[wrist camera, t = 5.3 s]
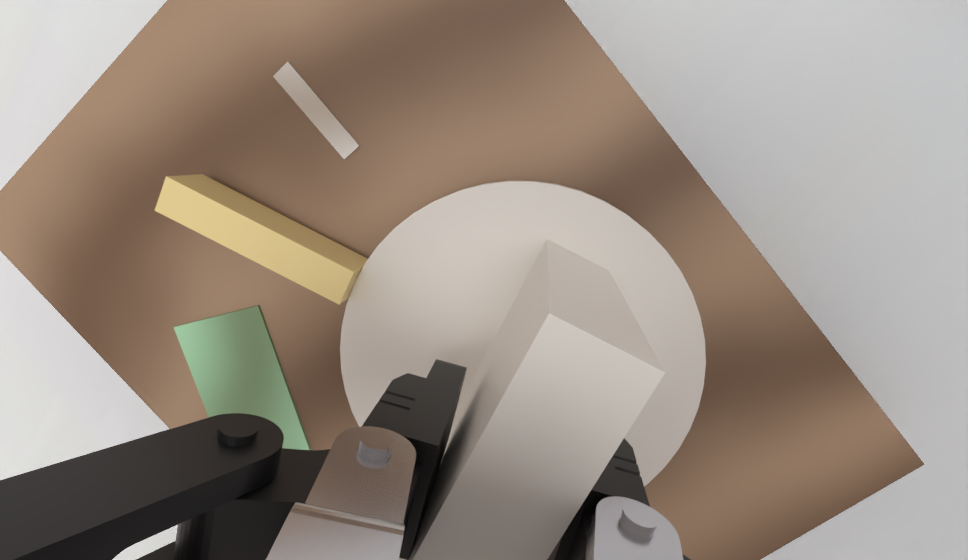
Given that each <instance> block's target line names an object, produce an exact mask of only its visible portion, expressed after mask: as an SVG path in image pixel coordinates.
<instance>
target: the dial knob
mask: <svg viewBox="0 0 968 560" xmlns="http://www.w3.org/2000/svg"><path fill="white" fill-rule="evenodd" d="M155 211H156V212H158V213H160V214H162V215H164V216H166V217H168V218H170V219H172V220H174V221H176V222H178V223H180V224H182V225H184V226H186V227H188V228H190V229H192V230H194V231H196V232H198V233H200V234H201V235H203V236H205V237H207V238H209V239H211V240H213V241H215V242H217V243H219V244H221V245H223V246H225V247H227V248H229V249H231V250H233V251H235V252H237V253H239V254H241V255H243V256H245V257H247V258H249V259H250V260H252V261H254V262H256V263H258V264H260V265H262V266H264V267H266V268H268V269H270V270H272V271H274V272H276V273H278V274H280V275H282V276H284V277H286V278H288V279H290V280H292V281H294V282H296V283H298V284H300V285H301V286H303V287H305V288H307V289H309V290H311V291H313V292H315V293H317V294H319V295H321V296H323V297H325V298H327V299H329V300H331V301H333V302H335V303H337V304H339V305H340V304H341V303H343V302H344V301H345V300H347V299H348V298H349V299H348V302H347V304H346V309H345V313H344V318H343V322H342V328H341V341H340V358H341V372H342V377H343V382H344V387H345V392H346V395H347V398H348V401H349V404H350V407H351V410H352V413H353V415H354V417H355V419H356V421H357V423H358V426H359V427H361V426H362V425H363V424H364V422H365V421H366V419H367V418H368V416H369V415H370V413H371V412H372V410H373V409H374V407H375V406H376V404H377V403H378V402H379V400H380V398H381V397H382V395H383V394H384V393H385V391H386V389H387V387H388V386H389V384H390V383H391V381H392V380H393V379H395V378H398V377H400V376H402V375H404V374H407V373H410V374H413V375H417V376H420V377H424V378H427V376H428V374H429V372H430V370H431V368H432V366H433V364H434V362H435V360H436V359H438V360H442V361H445V362H449V363H453V364H456V365H460V366H463V367H467V370H466V374H465V378H464V382H463V386H462V390H461V393H460V397H459V401H458V405H457V409H456V412H455V416H454V420H453V424H452V428H451V432H450V435H449V439H448V442H447V446H446V449H445V453H444V456H443V459H442V462H441V465H440V468H439V471H438V474H437V477H436V480H435V483H434V486H433V489H432V492H431V495H430V498H429V501H428V504H427V507H426V510H425V513H424V516H423V519H422V522H421V525H420V528H419V531H418V534H417V537H416V540H415V543H414V546H413V549H412V552H411V555H410V558H409V560H547V559H548V558H549V556H550V554H551V553H552V551H553V550H554V548H555V547H556V545H557V543H558V542H559V540H560V539H561V537H562V535H563V534H564V532H565V531H566V529H567V528H568V526H569V524H570V523H571V521H572V520H573V518H574V516H575V515H576V513H577V512H578V510H579V509H580V507H581V505H582V504H583V502H584V501H585V499H586V497H587V496H588V494H589V493H590V491H591V490H592V488H593V486H594V485H595V483H596V482H597V480H598V478H599V477H600V475H601V474H602V472H603V471H604V469H605V467H606V466H607V464H608V463H609V461H610V459H611V458H612V456H613V455H614V453H615V452H616V450H617V448H618V447H619V445H620V444H621V442H622V441H623V439H624V438H625V439H626V441H627V442H628V443H629V444H630V445H631V446H632V447H633V451H634V454H635V458H636V461H637V462H636V464H638V468H639V471H640V476H641V478H642V481H643V484H644V486H646V485H647V484H648V483H649V482H650V481H651V480H652V479H653V478H654V477H655V476H656V475H657V474H659V473H660V472H661V471H662V470H663V469H664V468H665V466H666V465H667V464H668V462H669V461H670V460H671V459H672V457H673V456H674V455H675V453H676V452H677V451H678V449H679V448H680V446H681V444H682V443H683V441H684V439H685V437H686V436H687V434H688V432H689V430H690V428H691V426H692V423H693V421H694V418H695V416H696V413H697V411H698V408H699V404H700V400H701V395H702V391H703V387H704V379H705V368H706V352H705V337H704V332H703V327H702V322H701V317H700V314H699V311H698V308H697V305H696V302H695V299H694V296H693V294H692V291H691V289H690V288H689V286H688V284H687V282H686V280H685V278H684V276H683V274H682V272H681V270H680V269H679V268H678V266H677V265H676V263H675V262H674V261H673V259H672V258H671V256H670V255H669V254H668V252H667V251H666V250H665V249H664V248H663V246H662V245H661V244H660V243H659V242H658V241H657V240H656V239H655V238H654V237H653V236H652V235H651V234H650V233H649V232H648V231H647V230H646V229H644V228H643V227H642V226H641V225H639V224H638V223H637V222H636V221H634V220H633V219H632V218H631V217H629V216H628V215H627V214H625V213H624V212H622V211H621V210H619V209H617V208H616V207H614V206H612V205H611V204H609V203H607V202H606V201H604V200H602V199H600V198H597V197H595V196H593V195H590V194H588V193H586V192H583V191H581V190H578V189H574V188H571V187H567V186H564V185H560V184H555V183H548V182H541V181H534V180H507V181H499V182H491V183H484V184H481V185H477V186H473V187H469V188H466V189H462V190H460V191H457V192H455V193H452V194H450V195H448V196H445V197H443V198H440V199H438V200H436V201H434V202H432V203H430V204H428V205H427V206H425V207H423V208H422V209H420V210H418V211H416V212H415V213H413V214H412V215H411V216H409V217H408V218H407V219H405V220H404V221H403V222H402V223H400V224H399V225H398V226H397V227H395V228H394V229H393V230H392V231H391V232H390V233H389V234H388V235H387V236H386V237H385V239H384V240H383V241H382V242H381V243H380V244H379V245H378V246H377V247H376V249H375V250H374V252H373V253H372V254H371V256H370V257H369V258H368V259H367V258H366V257H364V256H362V255H360V254H358V253H356V252H354V251H352V250H350V249H348V248H346V247H344V246H342V245H340V244H338V243H336V242H334V241H332V240H330V239H328V238H326V237H324V236H322V235H320V234H319V233H317V232H315V231H313V230H311V229H309V228H307V227H305V226H303V225H301V224H299V223H297V222H295V221H293V220H291V219H289V218H287V217H285V216H283V215H281V214H279V213H277V212H275V211H273V210H272V209H270V208H268V207H266V206H264V205H262V204H260V203H258V202H256V201H254V200H252V199H250V198H248V197H246V196H244V195H242V194H240V193H238V192H236V191H234V190H232V189H230V188H228V187H226V186H225V185H223V184H221V183H219V182H217V181H215V180H213V179H211V178H209V177H207V176H205V175H203V174H198V175H180V176H166V178H165V181H164V184H163V187H162V190H161V193H160V196H159V199H158V202H157V205H156V208H155ZM399 560H406V559H402V558H399Z"/></svg>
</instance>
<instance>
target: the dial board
mask: <svg viewBox="0 0 968 560" xmlns="http://www.w3.org/2000/svg"><path fill="white" fill-rule="evenodd" d="M198 174H203V175H205V176H207V177H209V178H211V179H213V180H215V181H217V182H219V183H221V184H223V185H225V186H226V187H228V188H230V189H232V190H234V191H236V192H238V193H240V194H242V195H244V196H246V197H248V198H250V199H252V200H254V201H256V202H258V203H260V204H262V205H264V206H266V207H268V208H270V209H272V210H273V211H275V212H277V213H279V214H281V215H283V216H285V217H287V218H289V219H291V220H293V221H295V222H297V223H299V224H301V225H303V226H305V227H307V228H309V229H311V230H313V231H315V232H317V233H319V234H320V235H322V236H324V237H326V238H328V239H330V240H332V241H334V242H336V243H338V244H340V245H342V246H344V247H346V248H348V249H350V250H352V251H354V252H356V253H358V254H360V255H362V256H364V257H366V258H367V259H368V258H369V257H370V256H371V254H372V253H373V252H374V250H375V249H376V247H377V246H378V245H379V244H380V243H381V242H382V241H383V240H384V239H385V237H386V236H387V235H388V234H389V233H390V232H391V231H392V230H393V229H394V228H395V227H397V226H398V225H399V224H400V223H402V222H403V221H404V220H405V219H407V218H408V217H409V216H411V215H412V214H413V213H415V212H416V211H418V210H420V209H422V208H423V207H425V206H427V205H428V204H430V203H432V202H434V201H436V200H438V199H440V198H443V197H445V196H448V195H450V194H452V193H455V192H457V191H460V190H462V189H466V188H469V187H473V186H477V185H481V184H484V183H491V182H499V181H507V180H534V181H541V182H548V183H555V184H560V185H564V186H567V187H571V188H574V189H578V190H581V191H583V192H586V193H588V194H590V195H593V196H595V197H597V198H600V199H602V200H604V201H606V202H607V203H609V204H611V205H612V206H614V207H616V208H617V209H619V210H621V211H622V212H624V213H625V214H627V215H628V216H629V217H631V218H632V219H633V220H634V221H636V222H637V223H638V224H639V225H641V226H642V227H643V228H644V229H646V230H647V231H648V232H649V233H650V234H651V235H652V236H653V237H654V238H655V239H656V240H657V241H658V242H659V243H660V244H661V245H662V246H663V248H664V249H665V250H666V251H667V252H668V254H669V255H670V256H671V258H672V259H673V261H674V262H675V263H676V265H677V266H678V268H679V269H680V270H681V272H682V274H683V276H684V278H685V280H686V282H687V284H688V286H689V288H690V289H691V291H692V294H693V296H694V299H695V302H696V305H697V308H698V311H699V314H700V317H701V322H702V327H703V332H704V337H705V352H706V368H705V379H704V387H703V391H702V395H701V400H700V404H699V408H698V411H697V413H696V416H695V418H694V421H693V423H692V426H691V428H690V430H689V432H688V434H687V436H686V437H685V439H684V441H683V443H682V444H681V446H680V448H679V449H678V451H677V452H676V453H675V455H674V456H673V457H672V459H671V460H670V461H669V462H668V464H667V465H666V466H665V468H664V469H663V470H662V471H661V472H660V473H659V474H657V475H656V476H655V477H654V478H653V479H652V480H651V481H650V482H649V483H648V484H647V485H646V486H644V488H645V491H646V495H647V498H648V501H649V505H650V507H651V508H653V509H654V510H656V511H657V512H659V513H660V514H661V515H663V516H664V517H665V518H666V519H667V520H668V521H669V522H670V523H671V524H672V525H673V527H674V528H675V530H676V531H677V533H678V536H679V539H680V544H681V549H682V554H683V555H685V556H686V557H688V558H689V559H691V560H760V559H762V558H764V557H765V556H767V555H769V554H770V553H772V552H774V551H776V550H777V549H779V548H781V547H783V546H784V545H786V544H788V543H789V542H791V541H793V540H795V539H796V538H798V537H800V536H802V535H803V534H805V533H807V532H808V531H810V530H812V529H814V528H815V527H817V526H819V525H820V524H822V523H824V522H826V521H827V520H829V519H831V518H833V517H834V516H836V515H838V514H839V513H841V512H843V511H845V510H846V509H848V508H850V507H852V506H853V505H855V504H857V503H858V502H860V501H862V500H864V499H865V498H867V497H869V496H871V495H872V494H874V493H876V492H877V491H879V490H881V489H883V488H884V487H886V486H888V485H889V484H891V483H893V482H895V481H896V480H898V479H900V478H902V477H903V476H905V475H907V474H908V473H910V472H912V471H914V470H915V469H917V468H919V467H921V466H922V465H924V463H923V462H922V461H921V459H920V458H919V457H918V456H917V454H916V453H915V452H914V450H913V449H912V448H911V446H910V445H909V444H908V443H907V441H906V440H905V439H904V437H903V436H902V435H901V434H900V432H899V431H898V430H897V428H896V427H895V426H894V425H893V423H892V422H891V421H890V419H889V418H888V417H887V416H886V414H885V413H884V412H883V410H882V409H881V408H880V407H879V405H878V404H877V403H876V401H875V400H874V399H873V398H872V396H871V395H870V394H869V392H868V391H867V390H866V389H865V387H864V386H863V385H862V383H861V382H860V381H859V380H858V378H857V377H856V376H855V374H854V373H853V372H852V370H851V369H850V368H849V367H848V365H847V364H846V363H845V361H844V360H843V359H842V358H841V356H840V355H839V354H838V352H837V351H836V350H835V349H834V347H833V346H832V345H831V343H830V342H829V341H828V340H827V338H826V337H825V336H824V334H823V333H822V332H821V331H820V329H819V328H818V327H817V325H816V324H815V323H814V322H813V320H812V319H811V318H810V316H809V315H808V314H807V313H806V311H805V310H804V309H803V307H802V306H801V305H800V304H799V302H798V301H797V300H796V298H795V297H794V296H793V294H792V293H791V292H790V291H789V289H788V288H787V287H786V285H785V284H784V283H783V282H782V280H781V279H780V278H779V276H778V275H777V274H776V273H775V271H774V270H773V269H772V267H771V266H770V265H769V264H768V262H767V261H766V260H765V258H764V257H763V256H762V255H761V253H760V252H759V251H758V249H757V248H756V247H755V246H754V244H753V243H752V242H751V240H750V239H749V238H748V237H747V235H746V234H745V233H744V231H743V230H742V229H741V228H740V226H739V225H738V224H737V222H736V221H735V220H734V218H733V217H732V216H731V215H730V213H729V212H728V211H727V209H726V208H725V207H724V206H723V204H722V203H721V202H720V200H719V199H718V198H717V197H716V195H715V194H714V193H713V191H712V190H711V189H710V188H709V186H708V185H707V184H706V182H705V181H704V180H703V179H702V177H701V176H700V175H699V173H698V172H697V171H696V170H695V168H694V167H693V166H692V164H691V163H690V162H689V161H688V159H687V158H686V157H685V155H684V154H683V153H682V152H681V150H680V149H679V148H678V146H677V145H676V144H675V142H674V141H673V140H672V139H671V137H670V136H669V135H668V133H667V132H666V131H665V130H664V128H663V127H662V126H661V124H660V123H659V122H658V121H657V119H656V118H655V117H654V115H653V114H652V113H651V112H650V110H649V109H648V108H647V106H646V105H645V104H644V103H643V101H642V100H641V99H640V97H639V96H638V95H637V94H636V92H635V91H634V90H633V88H632V87H631V86H630V85H629V83H628V82H627V81H626V79H625V78H624V77H623V76H622V74H621V73H620V72H619V70H618V69H617V68H616V66H615V65H614V64H613V63H612V61H611V60H610V59H609V57H608V56H607V55H606V54H605V52H604V51H603V50H602V48H601V47H600V46H599V45H598V43H597V42H596V41H595V39H594V38H593V37H592V36H591V34H590V33H589V32H588V30H587V29H586V28H585V27H584V25H583V24H582V23H581V21H580V20H579V19H578V18H577V16H576V15H575V14H574V12H573V11H572V10H571V9H570V7H569V6H568V5H567V3H566V2H565V1H564V0H167V1H166V3H165V4H164V5H163V6H162V7H161V8H160V9H159V11H158V12H157V13H156V14H155V15H154V16H153V17H152V19H151V20H150V21H149V22H148V23H147V24H146V25H145V27H144V28H143V29H142V30H141V31H140V32H139V33H138V35H137V36H136V37H135V38H134V39H133V40H132V41H131V43H130V44H129V45H128V46H127V47H126V48H125V49H124V50H123V52H122V53H121V54H120V55H119V56H118V57H117V58H116V60H115V61H114V62H113V63H112V64H111V65H110V66H109V68H108V69H107V70H106V71H105V72H104V73H103V74H102V76H101V77H100V78H99V79H98V80H97V81H96V82H95V84H94V85H93V86H92V87H91V88H90V89H89V90H88V92H87V93H86V94H85V95H84V96H83V97H82V98H81V100H80V101H79V102H78V103H77V104H76V105H75V106H74V107H73V109H72V110H71V111H70V112H69V113H68V114H67V115H66V117H65V118H64V119H63V120H62V121H61V122H60V123H59V125H58V126H57V127H56V128H55V129H54V130H53V131H52V133H51V134H50V135H49V136H48V137H47V138H46V139H45V141H44V142H43V143H42V144H41V145H40V146H39V147H38V149H37V150H36V151H35V152H34V153H33V154H32V155H31V157H30V158H29V159H28V160H27V161H26V162H25V163H24V165H23V166H22V167H21V168H20V169H19V170H18V171H17V172H16V174H15V175H14V176H13V177H12V178H11V179H10V180H9V182H8V183H7V184H6V185H5V186H4V187H3V188H2V190H1V191H0V251H1V252H2V253H3V254H4V255H5V256H6V257H7V258H8V259H9V260H10V261H11V262H12V264H13V265H14V266H15V267H16V268H17V269H18V270H19V271H20V272H21V273H22V274H23V275H24V276H25V277H26V278H27V279H28V280H29V281H30V282H31V283H32V285H33V286H34V287H35V288H36V289H37V290H38V291H39V292H40V293H41V294H42V295H43V296H44V297H45V298H46V299H47V300H48V301H49V302H50V303H51V304H52V306H53V307H54V308H55V309H56V310H57V311H58V312H59V313H60V314H61V315H62V316H63V317H64V318H65V319H66V320H67V321H68V322H69V323H70V324H71V325H72V327H73V328H74V329H75V330H76V331H77V332H78V333H79V334H80V335H81V336H82V337H83V338H84V339H85V340H86V341H87V342H88V343H89V344H90V345H91V346H92V348H93V349H94V350H95V351H96V352H97V353H98V354H99V355H100V356H101V357H102V358H103V359H104V360H105V361H106V362H107V363H108V364H109V365H110V366H111V368H112V369H113V370H114V371H115V372H116V373H117V374H118V375H119V376H120V377H121V378H122V379H123V380H124V381H125V382H126V383H127V384H128V385H129V386H130V387H131V389H132V390H133V391H134V392H135V393H136V394H137V395H138V396H139V397H140V398H141V399H142V400H143V401H144V402H145V403H146V404H147V405H148V406H149V407H150V408H151V410H152V411H153V412H154V413H155V414H156V415H157V416H158V417H159V418H160V419H161V420H162V421H163V422H164V423H165V424H166V425H167V426H168V427H169V428H170V429H172V428H176V427H179V426H182V425H186V424H189V423H192V422H196V421H199V420H202V419H206V418H209V417H212V416H216V415H221V414H229V413H244V414H251V415H256V416H260V417H263V418H266V419H268V420H270V421H272V422H273V423H275V424H276V425H277V426H278V427H279V428H280V429H281V430H282V432H283V435H284V441H283V447H282V448H286V449H299V450H326V449H331V447H332V445H333V443H334V440H335V439H336V437H337V436H338V435H339V434H340V433H342V432H343V431H345V430H348V429H350V428H354V427H359V426H358V423H357V421H356V419H355V417H354V415H353V413H352V410H351V407H350V404H349V401H348V398H347V395H346V392H345V387H344V382H343V377H342V372H341V358H340V341H341V328H342V322H343V318H344V313H345V309H346V304H347V302H348V299H349V298H348V299H347V300H345V301H344V302H343V303H341V304H340V305H339V304H337V303H335V302H333V301H331V300H329V299H327V298H325V297H323V296H321V295H319V294H317V293H315V292H313V291H311V290H309V289H307V288H305V287H303V286H301V285H300V284H298V283H296V282H294V281H292V280H290V279H288V278H286V277H284V276H282V275H280V274H278V273H276V272H274V271H272V270H270V269H268V268H266V267H264V266H262V265H260V264H258V263H256V262H254V261H252V260H250V259H249V258H247V257H245V256H243V255H241V254H239V253H237V252H235V251H233V250H231V249H229V248H227V247H225V246H223V245H221V244H219V243H217V242H215V241H213V240H211V239H209V238H207V237H205V236H203V235H201V234H200V233H198V232H196V231H194V230H192V229H190V228H188V227H186V226H184V225H182V224H180V223H178V222H176V221H174V220H172V219H170V218H168V217H166V216H164V215H162V214H160V213H158V212H156V211H155V208H156V205H157V202H158V199H159V196H160V193H161V190H162V187H163V184H164V181H165V178H166V176H180V175H198Z"/></svg>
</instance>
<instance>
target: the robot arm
mask: <svg viewBox="0 0 968 560" xmlns="http://www.w3.org/2000/svg"><path fill="white" fill-rule="evenodd" d="M466 370H467V367H463V366H460V365H456V364H453V363H449V362H445V361H442V360H438V359H436V360H435V362H434V364H433V366H432V368H431V370H430V372H429V374H428V376H427V378H424V377H420V376H417V375H413V374H410V373H407V374H404V375H402V376H400V377H398V378H395V379H393V380H392V381H391V383H390V384H389V386H388V387H387V389H386V391H385V393H384V394H383V395H382V397H381V398H380V400H379V402H378V403H377V404H376V406H375V407H374V409H373V410H372V412H371V413H370V415H369V416H368V418H367V419H366V421H365V422H364V424H363V425H362V426H361V427H354V428H350V429H348V430H345V431H343V432H342V433H340V434H339V435H338V436H337V437H336V439H335V440H334V443H333V445H332V447H331V449H326V450H299V449H286V448H282V447H283V441H284V435H283V432H282V430H281V429H280V428H279V427H278V426H277V425H276V424H275V423H273V422H272V421H270V420H268V419H266V418H263V417H260V416H256V415H251V414H244V413H229V414H221V415H216V416H212V417H209V418H206V419H202V420H199V421H196V422H192V423H189V424H186V425H182V426H179V427H176V428H172V429H169V430H166V431H163V432H159V433H156V434H153V435H149V436H146V437H143V438H139V439H136V440H133V441H129V442H126V443H123V444H120V445H116V446H113V447H110V448H106V449H103V450H100V451H96V452H93V453H90V454H87V455H83V456H80V457H77V458H73V459H70V460H67V461H63V462H60V463H57V464H53V465H50V466H47V467H44V468H40V469H37V470H34V471H30V472H27V473H24V474H20V475H17V476H14V477H10V478H7V479H4V480H1V481H0V560H112V559H113V558H114V557H115V556H116V555H118V554H119V553H120V552H121V551H123V550H124V549H126V548H127V547H129V546H131V545H133V544H135V543H137V542H140V541H142V540H144V539H146V538H149V537H151V536H153V535H155V534H157V533H160V532H162V531H164V530H166V529H169V528H171V527H173V526H175V525H177V524H178V528H177V536H176V541H175V542H172V543H170V544H168V545H166V546H164V547H162V548H160V549H158V550H156V551H153V552H151V553H149V554H147V555H145V556H143V557H141V558H139V559H137V560H399V558H402V559H406V560H409V558H410V555H411V552H412V549H413V546H414V543H415V540H416V537H417V534H418V531H419V528H420V525H421V522H422V519H423V516H424V513H425V510H426V507H427V504H428V501H429V498H430V495H431V492H432V489H433V486H434V483H435V480H436V477H437V474H438V471H439V468H440V465H441V462H442V459H443V456H444V453H445V449H446V446H447V442H448V439H449V435H450V432H451V428H452V424H453V420H454V416H455V412H456V409H457V405H458V401H459V397H460V393H461V390H462V386H463V382H464V378H465V374H466ZM636 462H637V461H636V458H635V454H634V451H633V447H632V446H631V445H630V444H629V443H628V442H627V441H626V439H625V438H624V439H623V441H622V442H621V444H620V445H619V447H618V448H617V450H616V452H615V453H614V455H613V456H612V458H611V459H610V461H609V463H608V464H607V466H606V467H605V469H604V471H603V472H602V474H601V475H600V477H599V478H598V480H597V482H596V483H595V485H594V486H593V488H592V490H591V491H590V493H589V494H588V496H587V497H586V499H585V501H584V502H583V504H582V505H581V507H580V509H579V510H578V512H577V513H576V515H575V516H574V518H573V520H572V521H571V523H570V524H569V526H568V528H567V529H566V531H565V532H564V534H563V535H562V537H561V539H560V540H559V542H558V543H557V545H556V547H555V548H554V550H553V551H552V553H551V554H550V556H549V558H548V559H547V560H691V559H689V558H688V557H686V556H685V555H683V554H682V549H681V544H680V539H679V536H678V533H677V531H676V530H675V528H674V527H673V525H672V524H671V523H670V522H669V521H668V520H667V519H666V518H665V517H664V516H663V515H661V514H660V513H659V512H657V511H656V510H654V509H653V508H651V507H650V505H649V501H648V498H647V495H646V491H645V488H644V484H643V481H642V478H641V476H640V471H639V468H638V464H636Z"/></svg>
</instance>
